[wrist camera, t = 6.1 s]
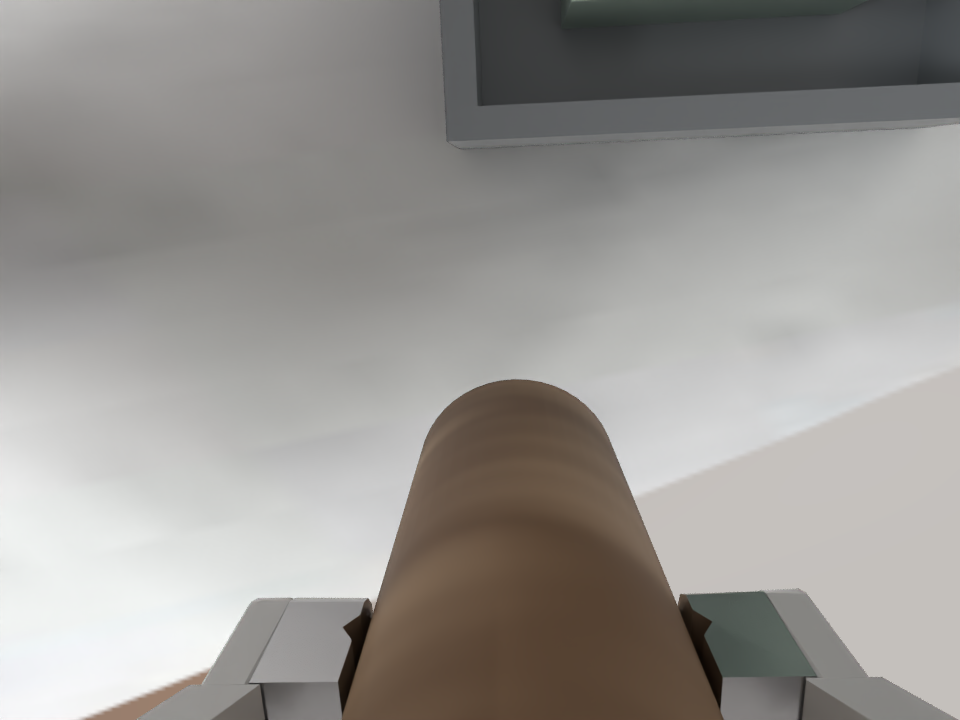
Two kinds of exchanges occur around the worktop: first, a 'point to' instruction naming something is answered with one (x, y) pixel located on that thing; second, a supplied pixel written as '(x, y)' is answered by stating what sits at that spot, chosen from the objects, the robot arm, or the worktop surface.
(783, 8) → the bore box
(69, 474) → the worktop surface
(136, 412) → the worktop surface
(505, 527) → the peg
